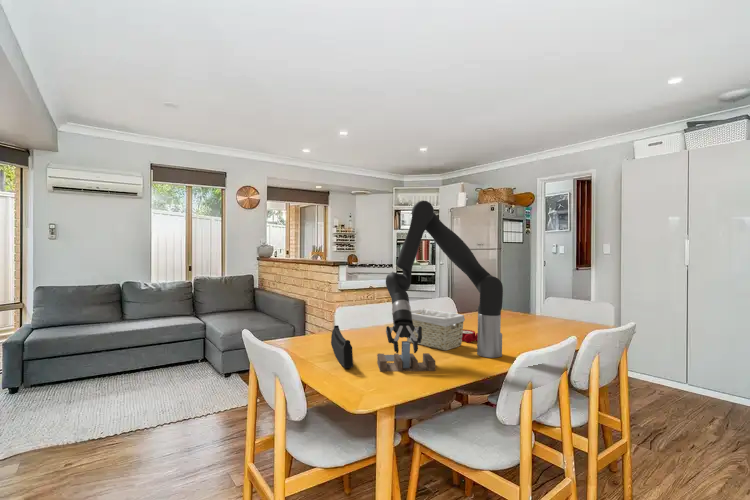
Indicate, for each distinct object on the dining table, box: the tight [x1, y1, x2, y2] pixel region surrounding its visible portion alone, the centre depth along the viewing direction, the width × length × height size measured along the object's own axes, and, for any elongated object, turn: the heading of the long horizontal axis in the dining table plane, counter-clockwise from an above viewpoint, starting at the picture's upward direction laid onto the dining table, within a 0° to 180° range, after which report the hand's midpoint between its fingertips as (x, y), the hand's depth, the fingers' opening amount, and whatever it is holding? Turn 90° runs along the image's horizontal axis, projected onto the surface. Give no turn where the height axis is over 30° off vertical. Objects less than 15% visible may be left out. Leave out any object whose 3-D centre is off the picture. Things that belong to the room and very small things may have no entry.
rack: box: [376, 352, 436, 373], centre depth 145 cm, size 20×10×4 cm, turn 95°
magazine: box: [330, 324, 354, 369], centre depth 154 cm, size 17×3×30 cm
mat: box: [384, 354, 401, 362], centre depth 157 cm, size 10×9×1 cm
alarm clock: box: [462, 328, 478, 343], centre depth 192 cm, size 10×6×15 cm
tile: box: [400, 340, 411, 368], centre depth 145 cm, size 2×4×9 cm, turn 7°
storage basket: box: [406, 308, 466, 351], centre depth 182 cm, size 24×16×15 cm
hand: (406, 351), depth 144 cm, fingers open, 6 cm apart
